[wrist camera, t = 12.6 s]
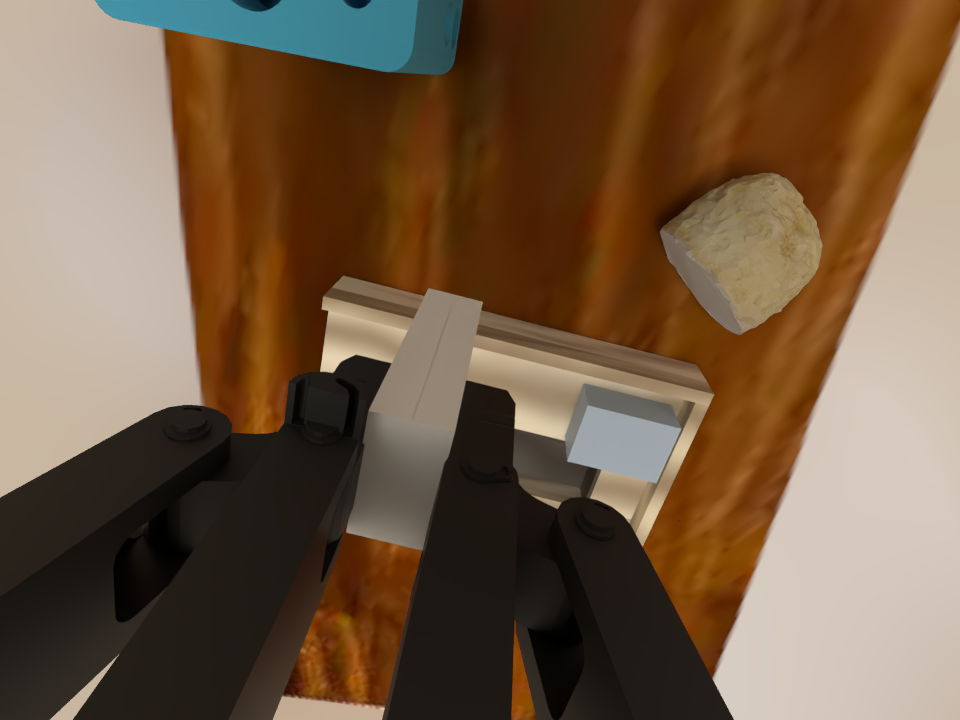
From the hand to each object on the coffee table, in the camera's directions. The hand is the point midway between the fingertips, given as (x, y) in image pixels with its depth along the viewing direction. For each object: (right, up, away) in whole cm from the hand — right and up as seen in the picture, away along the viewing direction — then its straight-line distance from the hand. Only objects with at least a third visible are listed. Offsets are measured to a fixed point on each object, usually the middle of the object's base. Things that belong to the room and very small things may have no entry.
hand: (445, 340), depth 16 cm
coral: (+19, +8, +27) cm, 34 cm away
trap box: (+3, -4, +34) cm, 35 cm away
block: (+12, -5, +31) cm, 33 cm away
